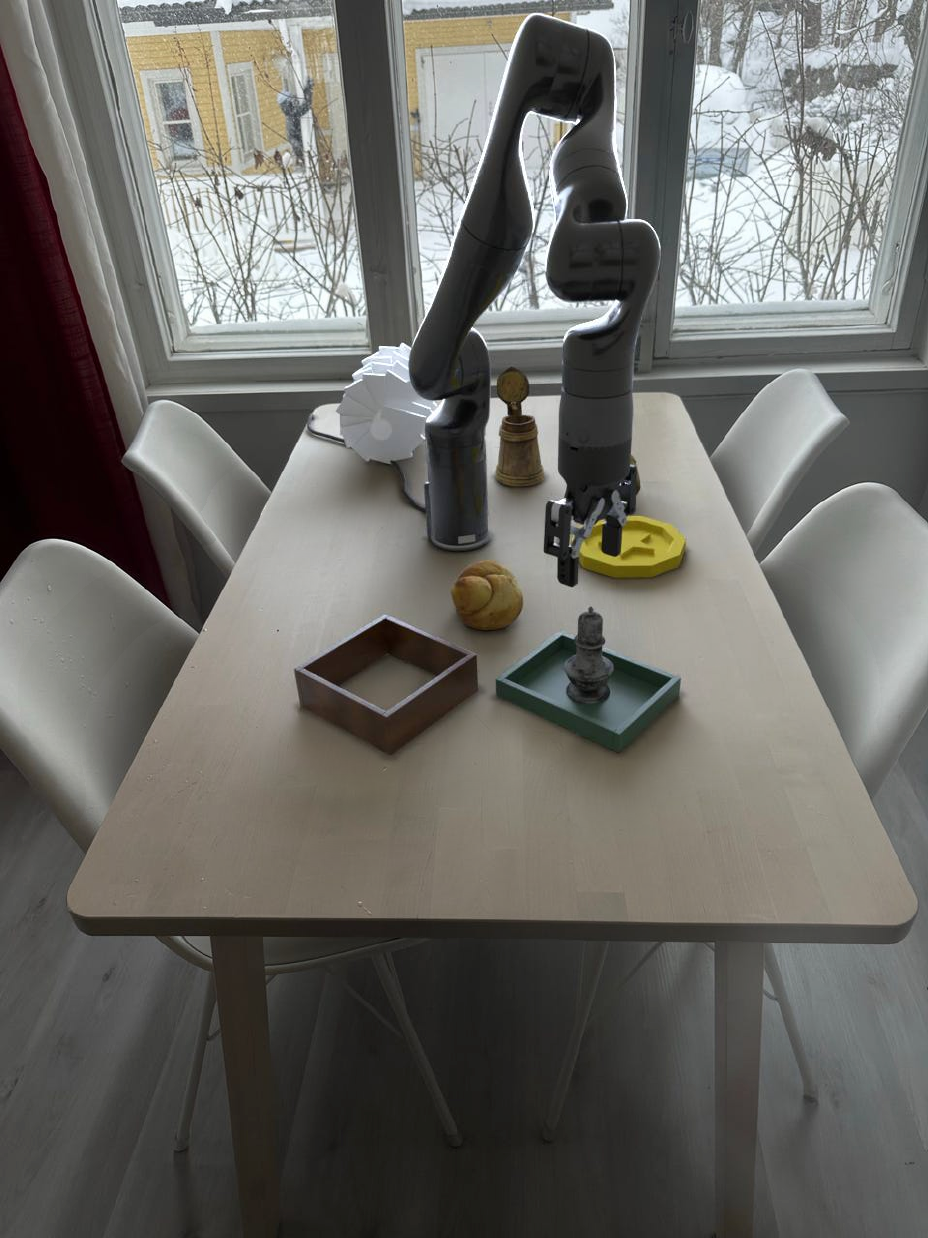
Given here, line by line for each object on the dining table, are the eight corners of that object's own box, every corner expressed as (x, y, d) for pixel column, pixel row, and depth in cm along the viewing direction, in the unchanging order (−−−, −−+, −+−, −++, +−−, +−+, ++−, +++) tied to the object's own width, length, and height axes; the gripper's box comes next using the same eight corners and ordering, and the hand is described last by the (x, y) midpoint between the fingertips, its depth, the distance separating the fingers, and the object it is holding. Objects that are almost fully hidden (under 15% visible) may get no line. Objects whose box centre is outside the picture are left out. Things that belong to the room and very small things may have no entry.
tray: (495, 696, 113) (495, 679, 112) (560, 646, 122) (560, 630, 121) (618, 753, 103) (619, 734, 102) (679, 695, 112) (681, 677, 111)
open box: (299, 705, 113) (293, 668, 111) (388, 648, 123) (385, 613, 120) (390, 756, 105) (386, 717, 102) (478, 690, 114) (477, 653, 112)
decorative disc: (608, 517, 154) (608, 506, 153) (704, 545, 144) (705, 534, 143) (550, 556, 143) (550, 545, 142) (650, 589, 134) (650, 577, 133)
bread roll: (455, 590, 136) (453, 541, 132) (522, 588, 135) (521, 539, 131) (451, 637, 125) (448, 586, 121) (523, 636, 124) (523, 584, 120)
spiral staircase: (364, 488, 179) (382, 435, 199) (443, 451, 173) (454, 400, 194) (312, 408, 170) (337, 361, 191) (394, 365, 164) (411, 322, 185)
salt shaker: (610, 707, 109) (615, 621, 103) (561, 703, 111) (562, 618, 104) (614, 679, 114) (618, 595, 108) (566, 675, 115) (568, 592, 109)
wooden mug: (535, 457, 178) (535, 364, 169) (548, 484, 167) (548, 386, 157) (489, 460, 178) (487, 367, 168) (499, 488, 166) (496, 390, 157)
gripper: (602, 404, 101) (597, 536, 110) (523, 443, 92) (524, 584, 101) (663, 417, 97) (652, 554, 106) (586, 460, 88) (581, 606, 97)
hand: (589, 568), depth 103 cm, fingers open, 8 cm apart
